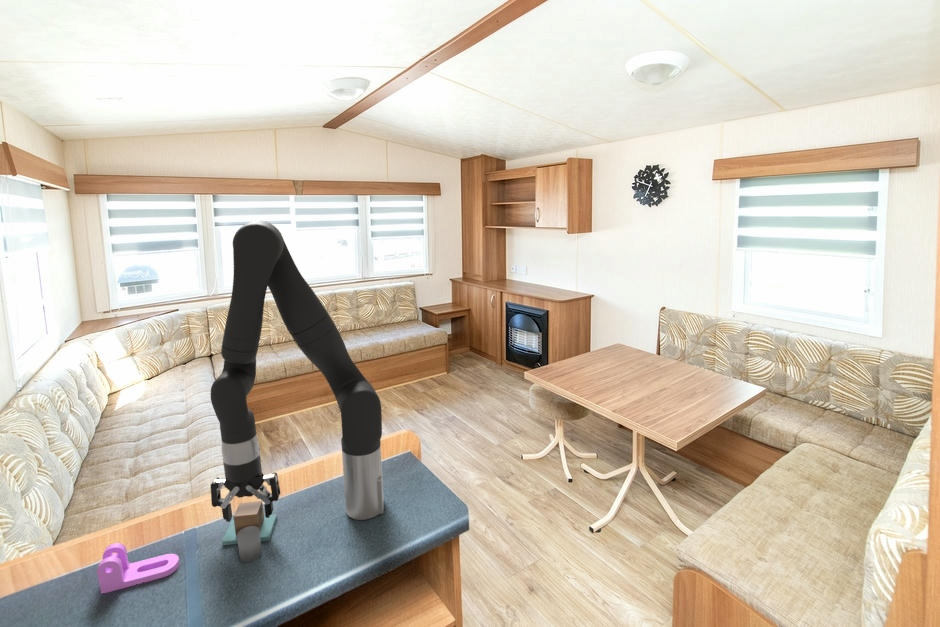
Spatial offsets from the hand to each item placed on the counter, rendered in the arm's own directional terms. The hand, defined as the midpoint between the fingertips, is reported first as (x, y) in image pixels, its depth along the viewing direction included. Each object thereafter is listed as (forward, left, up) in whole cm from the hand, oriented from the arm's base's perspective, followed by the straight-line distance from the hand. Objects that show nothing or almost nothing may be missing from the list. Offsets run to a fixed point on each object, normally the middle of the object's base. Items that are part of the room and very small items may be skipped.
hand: (249, 517), depth 112 cm
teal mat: (0, 0, -4) cm, 4 cm away
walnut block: (0, 0, -3) cm, 3 cm away
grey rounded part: (-2, +8, -4) cm, 9 cm away
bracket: (+18, +10, -4) cm, 21 cm away
